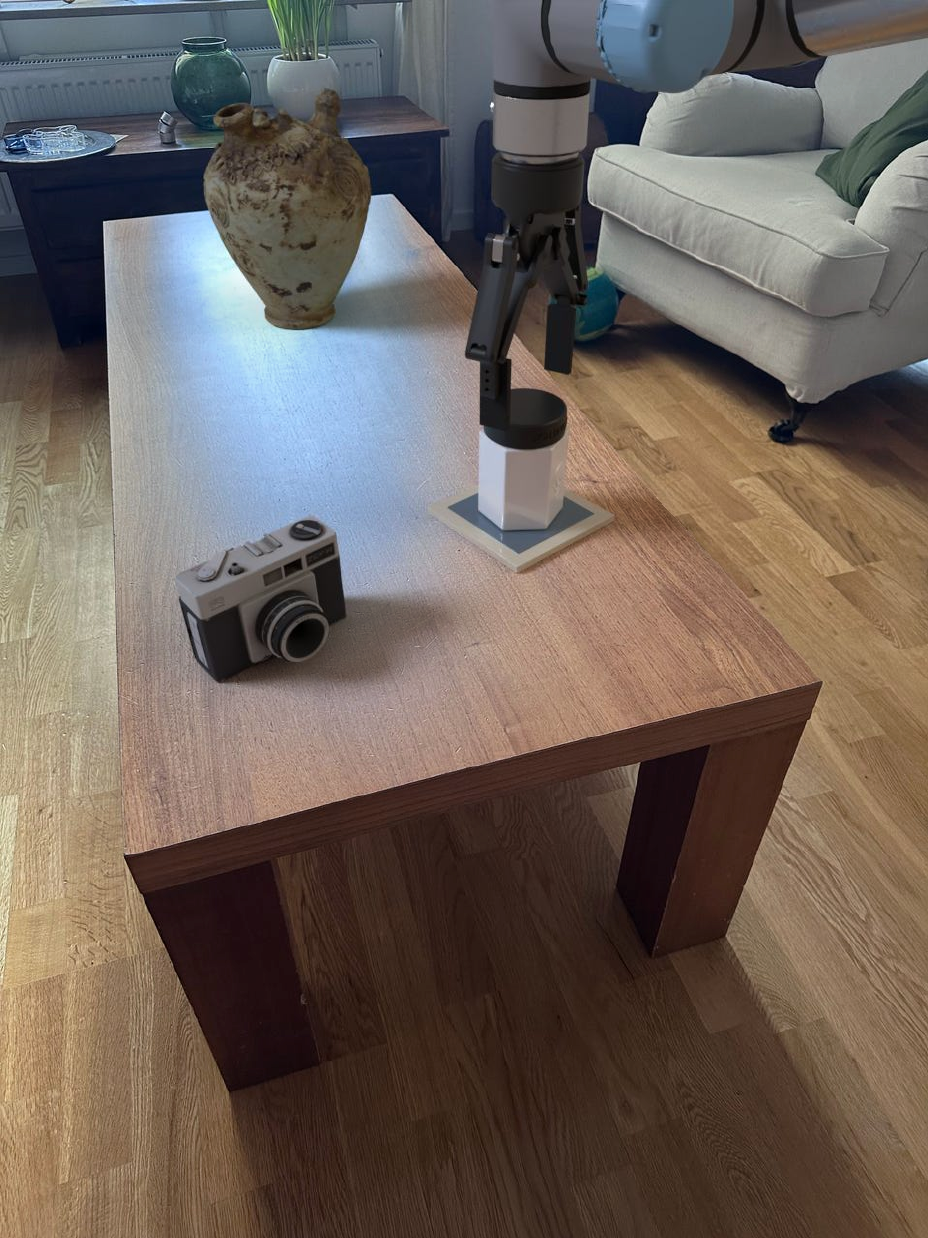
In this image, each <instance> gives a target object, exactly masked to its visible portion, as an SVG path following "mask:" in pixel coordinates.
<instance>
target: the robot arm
mask: <svg viewBox="0 0 928 1238" xmlns="http://www.w3.org/2000/svg"><path fill="white" fill-rule="evenodd" d="M492 6H493V7H492V12H493V13H492V31H493V32H492V40H493V41H492V56H493V57H492V80H493V98H492V99H493V101H492V102H491V104H490V106H489V107H490V110H489V111H490V113H492V146H493V147H494V148H495V150H497V151H498V152H497V153H495V155H494V156H493V157H492V159H491V190H490V191H491V193H490V194H491V196H490V197H491V201H492V203H493V204H494V205H495V207H497V208H498V209H501V210H502V211H503V212H504V214H505V216H506V219H505V225H504V231H503V234H497V233H491V232H488V233H487V234H486V236H485V237H484V247H483V248H484V250H483V262H482V263H483V264H482V268H481V269H482V270H481V274H480V278H479V282H478V289H477V293H476V298H475V302H474V307H473V311H472V317H471V321H470V325H469V330H468V335H467V340H466V344H465V349H464V357H465V359H466V360H471V361H475V362H479V426H482V427H484V426H487V427H491V428H495V429H499V430H502V431H507V430H508V429H509V428H510V400H511V389H512V365H513V364H512V363H513V362H512V361H513V360H512V358H508V354H509V351H510V348H511V344H512V341H513V339H514V336H515V332H516V329H517V326H518V323H519V320H520V317H521V315H522V311H523V308H524V305H525V302H526V299H527V296H528V293H529V291H530V289H533V288H535V287H536V285H537V282H538V279H539V276H540V275H542V277H543V280H544V282H545V285H546V288H547V290H548V291H549V294H550V297H551V299H552V301H553V302H556V303H549V304H548V305H547V306H546V307H547V309H546V326H545V343H544V361H543V362H544V366H543V370H544V371H548V372H549V371H550V372H553V373H557V374H563V375H567V376H569V375H570V374H571V373H572V371H573V357H574V345H575V343H574V342H575V332H576V331H575V330H576V317H577V307H582V308H584V307H586V305H587V303H588V294H585V293H586V292H587V290H588V288H589V278H588V272H587V270H588V269H587V263H586V256H585V255H586V254H585V249H584V241H583V233H582V226H581V225H582V224H581V216H582V215H581V213H582V200H583V189H584V178H585V177H584V175H585V164H586V163H585V162H586V161H585V158H583V155H582V154H581V152H582V151H583V150H584V149H585V148H586V147H587V144H588V131H589V130H588V129H589V112H590V100H591V99H590V97H591V83H592V82H591V80H592V79H594V80H598V81H601V82H607V83H610V84H615V85H619V86H623V87H625V88H627V89H632V90H633V91H635V92H639V93H643V94H648V93H652V92H656V93H657V92H658V93H665V94H681V93H683V92H687V91H690V90H692V89H693V88H694V87H695V86H697V85H698V84H699V83H700V82H701V81H702V80H703V79H705V78H706V77H711V76H717V75H723V74H727V73H735V72H746V71H755V70H765V69H784V68H791V67H792V68H793V67H799V66H802V65H805V64H808V63H810V62H813V61H817V60H819V59H822V58H826V57H832V56H838V55H842V54H848V53H853V52H858V51H864V50H869V49H875V48H881V47H885V46H891V45H898V44H902V43H909V42H914V41H919V40H920V41H921V40H924V39H928V0H492ZM575 306H576V307H575Z"/></svg>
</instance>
